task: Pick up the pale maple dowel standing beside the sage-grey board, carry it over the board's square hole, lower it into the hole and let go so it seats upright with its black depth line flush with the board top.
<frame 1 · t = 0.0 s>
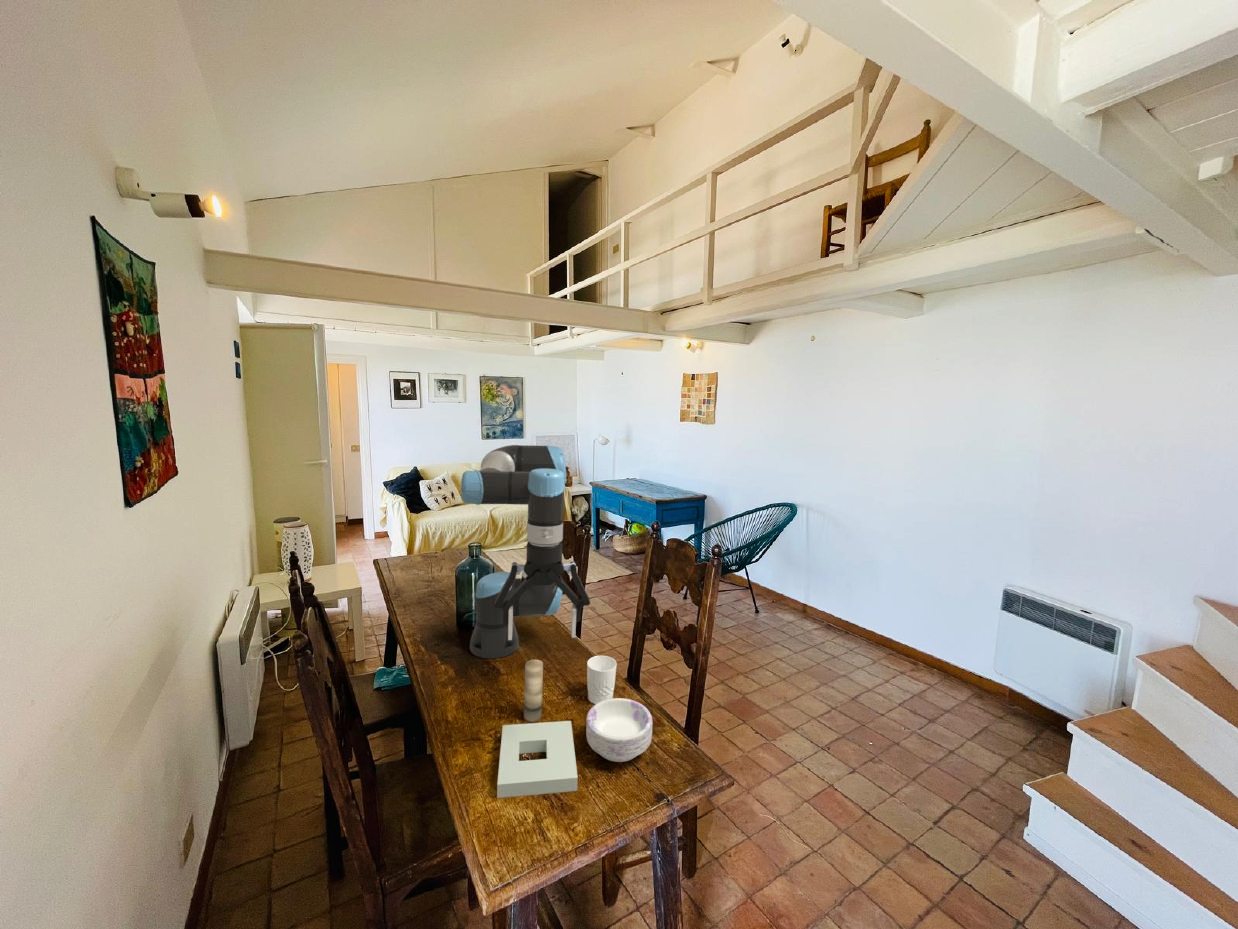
hand: (542, 636, 108), 28 cm above the table, fingers open, 13 cm apart
white cup: (600, 698, 133), on the table
socket board: (537, 762, 108), on the table
paper bowls: (618, 748, 114), on the table
maple dowel: (532, 716, 124), on the table
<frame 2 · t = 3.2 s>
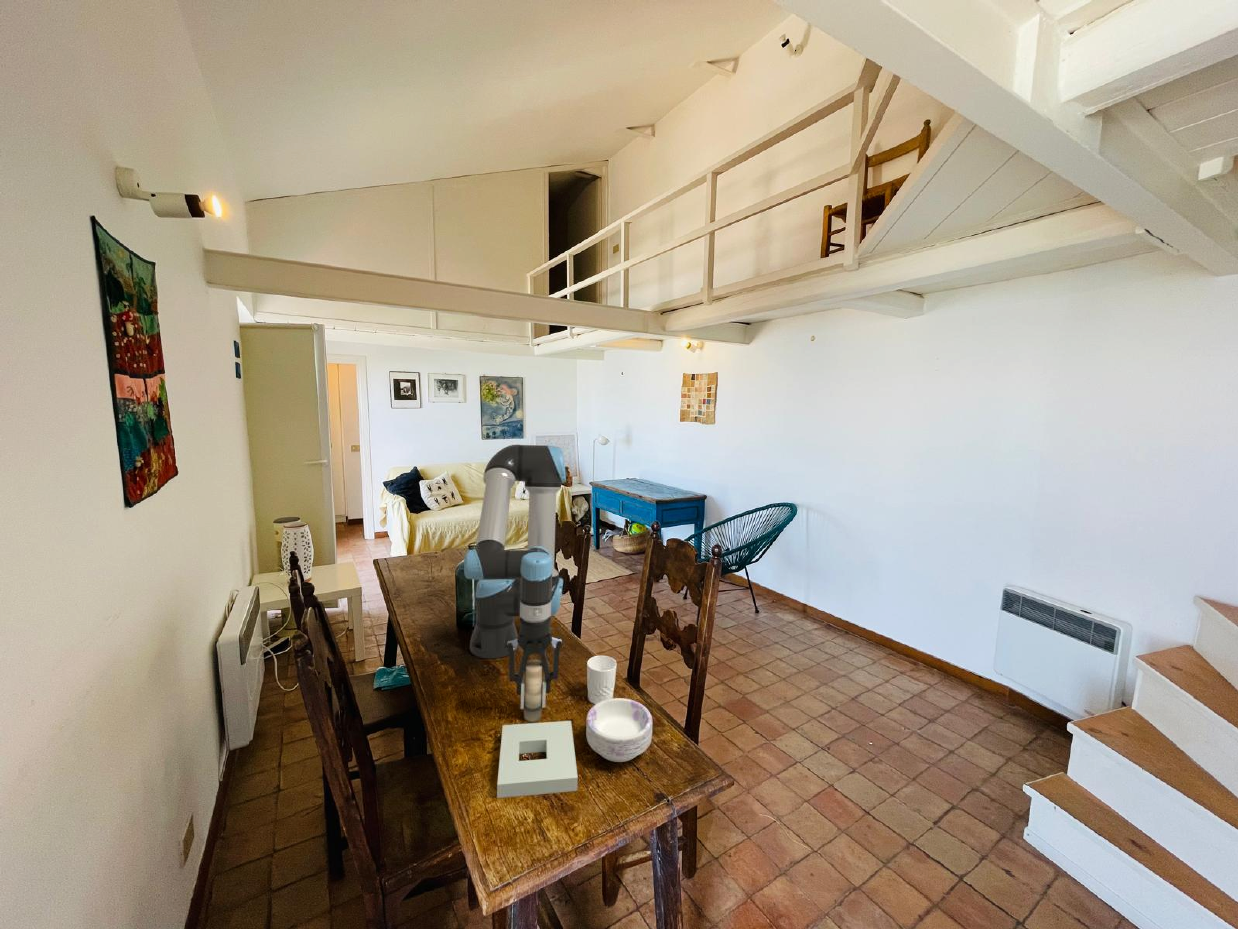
hand: (533, 704, 124), 3 cm above the table, fingers closed on maple dowel, 4 cm apart
maple dowel: (532, 716, 124), on the table, touching gripper
everything else where it was.
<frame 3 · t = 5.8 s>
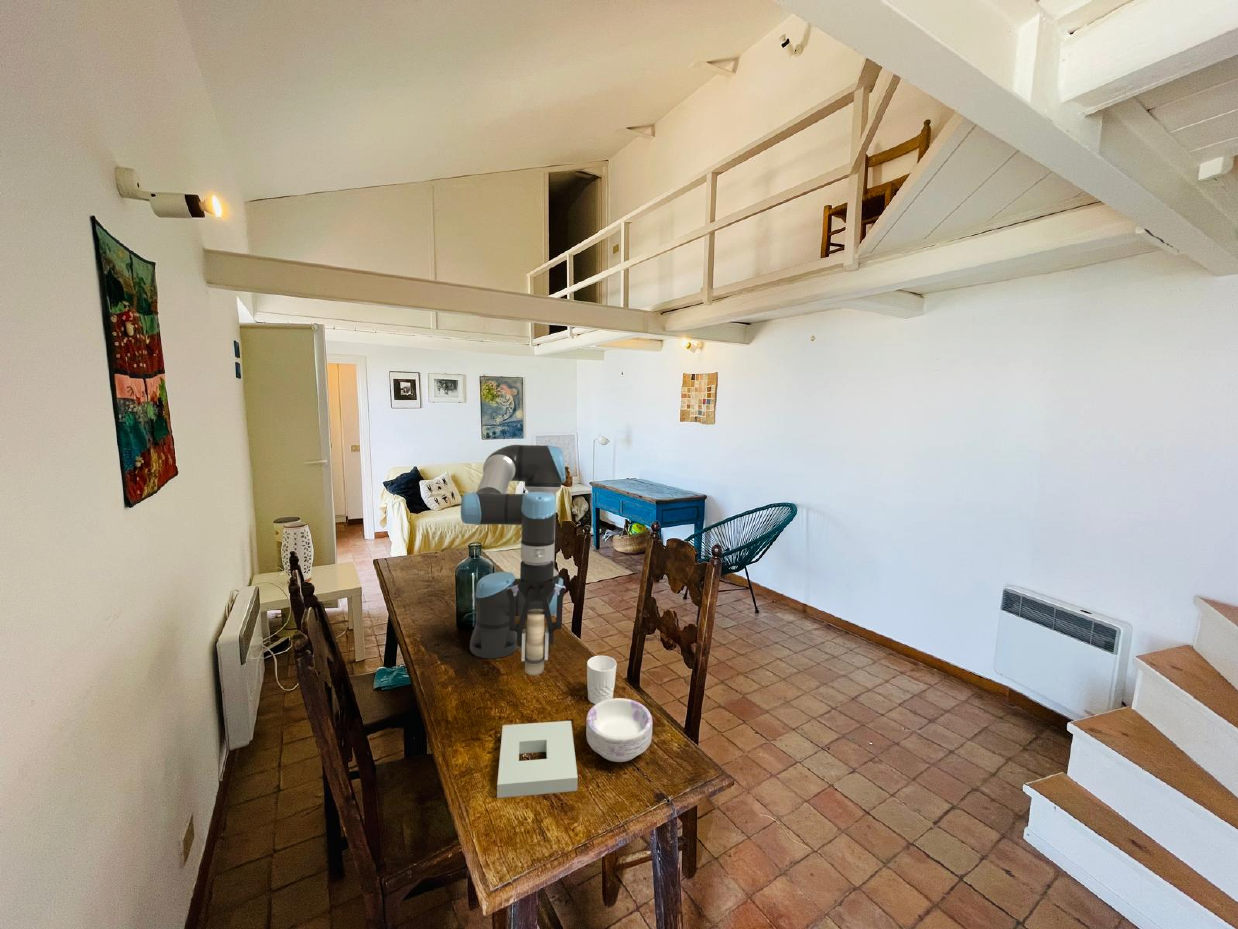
hand: (534, 657, 115), 20 cm above the table, fingers closed on maple dowel, 4 cm apart
maple dowel: (534, 670, 115), point 16 cm above the table, touching gripper
everything else where it was.
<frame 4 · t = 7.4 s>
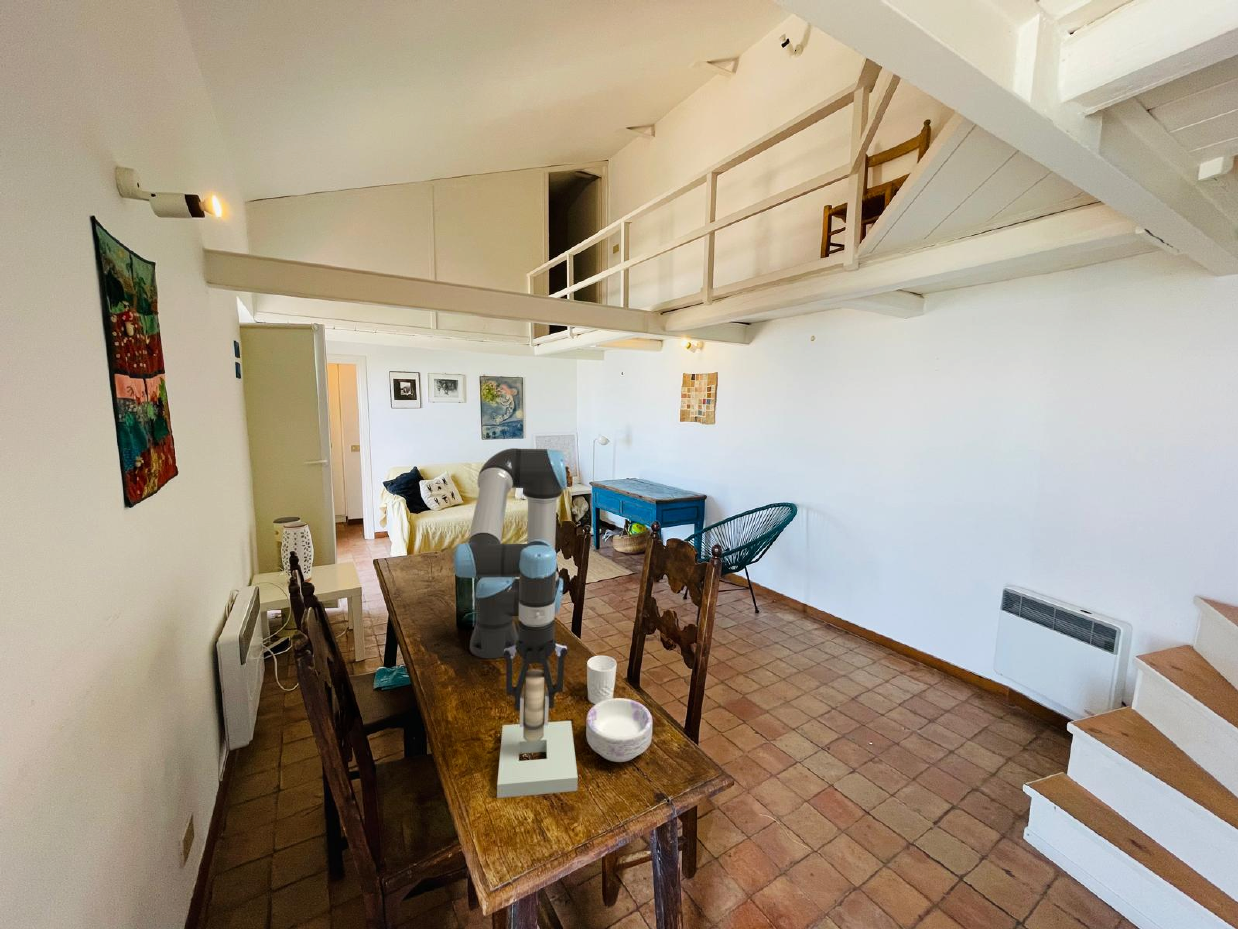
hand: (533, 722, 107), 10 cm above the table, fingers closed on maple dowel, 4 cm apart
maple dowel: (533, 735, 107), point 7 cm above the table, touching gripper
everything else where it was.
when the fingers open (5 cm above the table, at t = 8.5 s): maple dowel drops 2 cm, resting in socket board.
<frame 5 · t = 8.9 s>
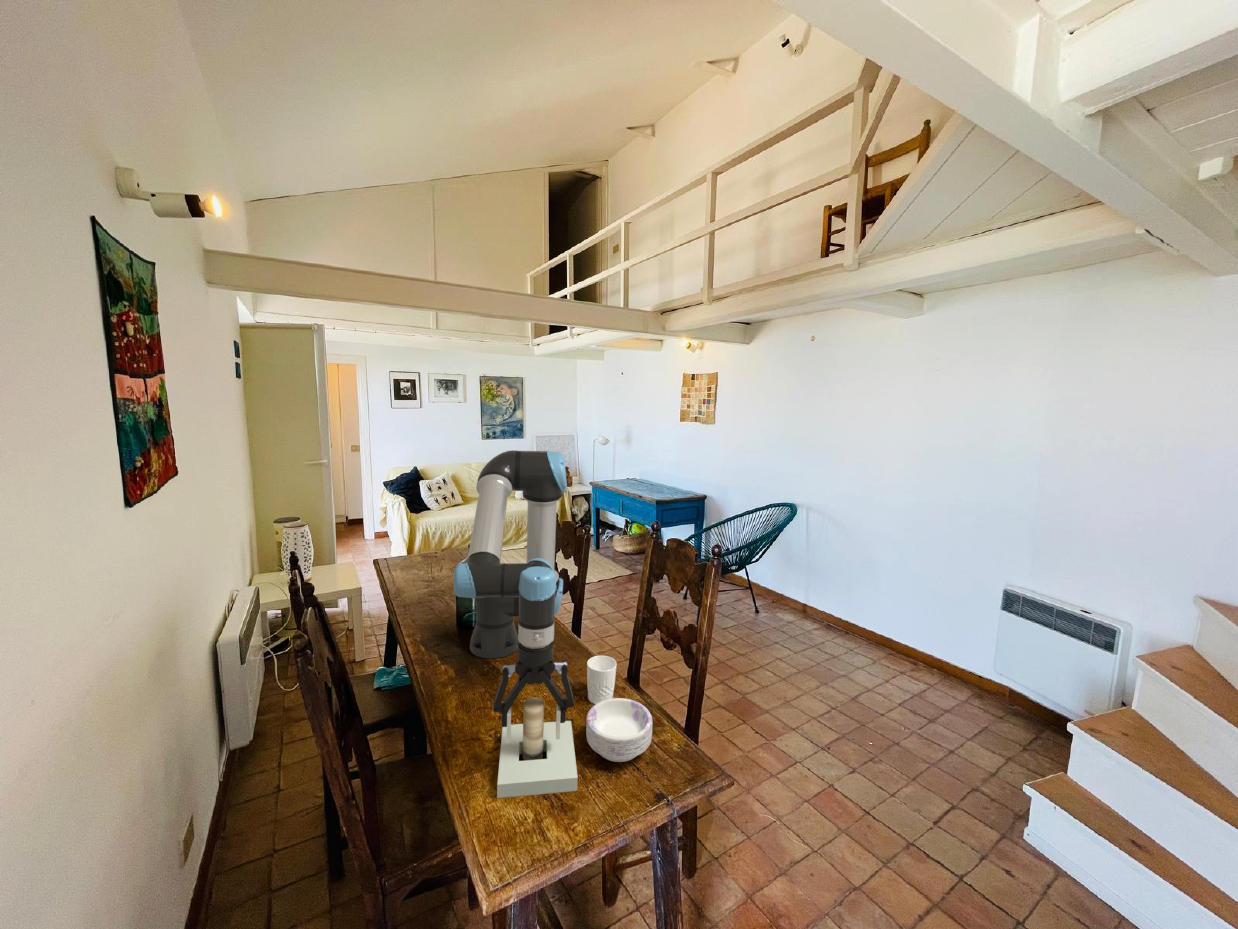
hand: (533, 737, 108), 6 cm above the table, fingers open, 10 cm apart
maple dowel: (532, 762, 108), resting in socket board
everything else where it was.
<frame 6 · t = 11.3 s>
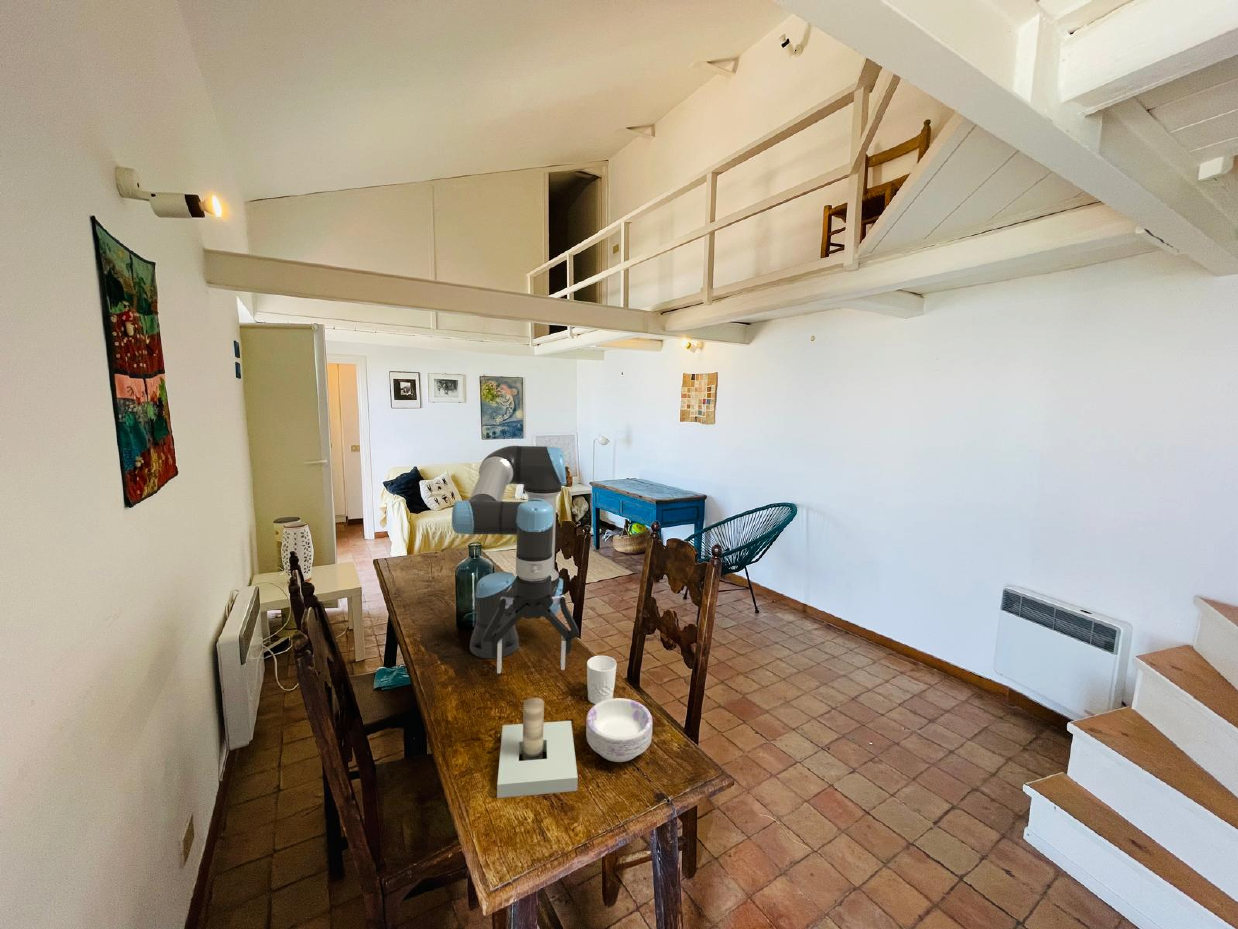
hand: (531, 668, 107), 21 cm above the table, fingers open, 13 cm apart
nothing on the table moved.
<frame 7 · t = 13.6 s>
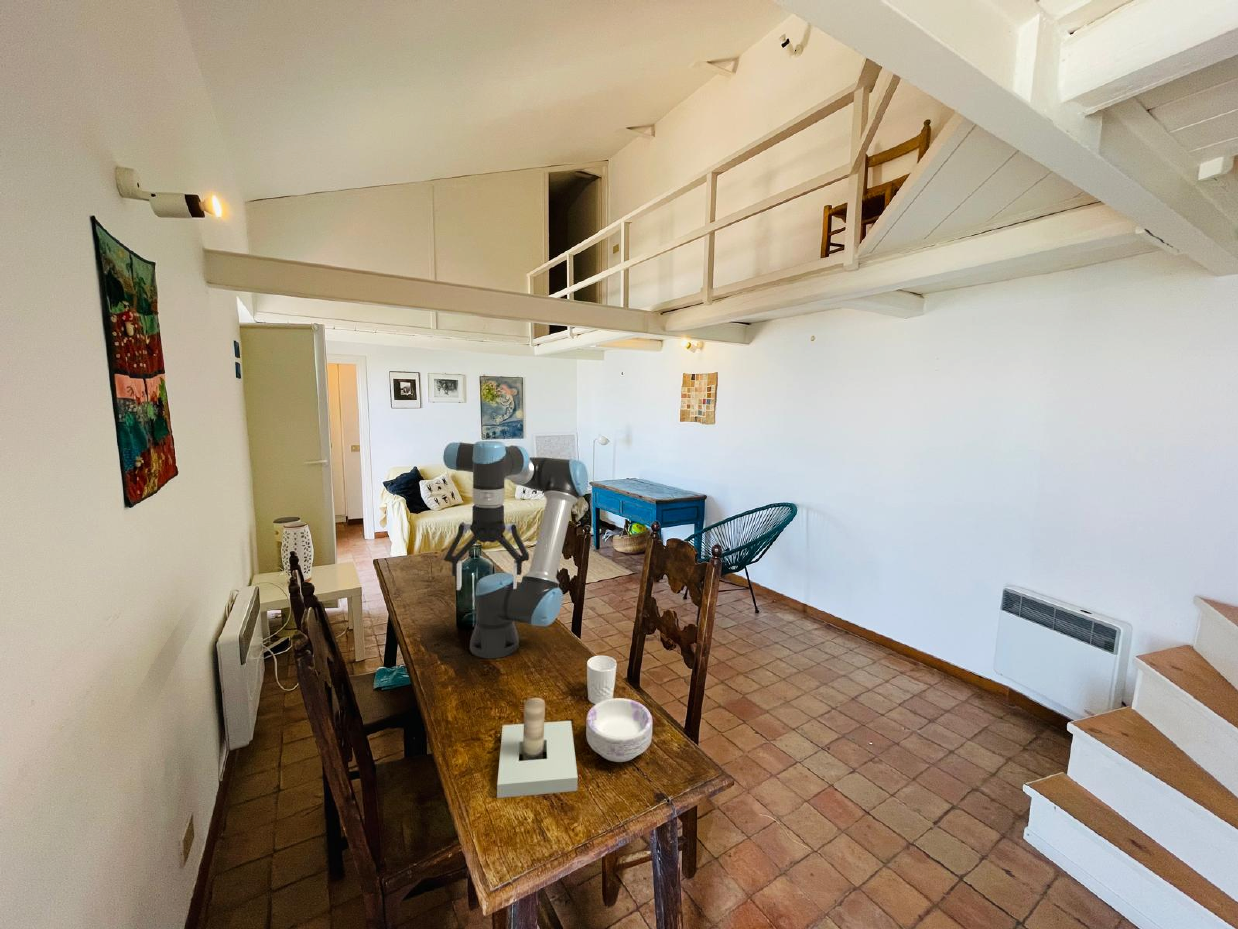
hand: (487, 587, 123), 32 cm above the table, fingers open, 13 cm apart
nothing on the table moved.
at the end: maple dowel 0.0 cm from the target spot on the socket board, point 0.0 cm above the socket board's base; maple dowel tilted 1°; the gripper is holding nothing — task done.
